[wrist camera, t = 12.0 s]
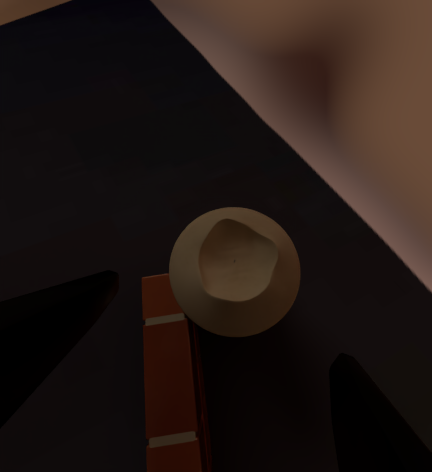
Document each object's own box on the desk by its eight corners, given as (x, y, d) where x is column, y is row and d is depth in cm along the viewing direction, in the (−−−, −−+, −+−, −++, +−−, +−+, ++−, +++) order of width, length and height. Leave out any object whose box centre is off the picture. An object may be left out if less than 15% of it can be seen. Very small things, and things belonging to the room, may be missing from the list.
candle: (191, 261, 18) (152, 203, 9) (255, 249, 18) (287, 178, 9) (201, 331, 16) (166, 357, 7) (273, 317, 16) (339, 323, 7)
